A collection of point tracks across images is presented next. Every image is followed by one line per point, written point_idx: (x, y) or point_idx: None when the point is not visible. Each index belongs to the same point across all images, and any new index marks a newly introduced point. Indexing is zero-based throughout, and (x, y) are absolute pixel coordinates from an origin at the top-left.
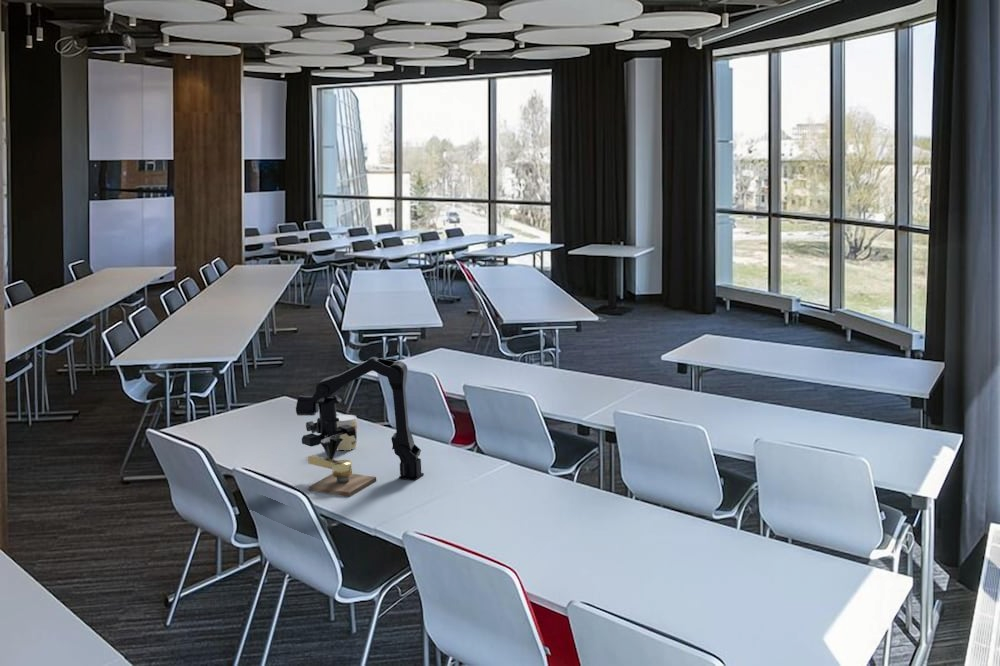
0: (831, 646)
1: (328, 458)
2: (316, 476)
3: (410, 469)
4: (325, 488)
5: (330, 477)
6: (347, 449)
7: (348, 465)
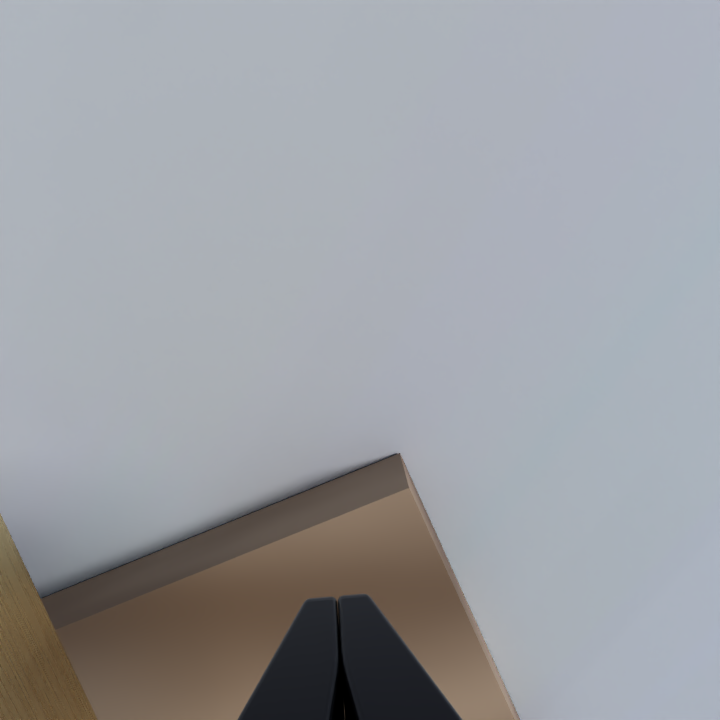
0: None
1: (298, 614)
2: (139, 249)
3: None
4: None
5: (183, 648)
6: None
7: None
